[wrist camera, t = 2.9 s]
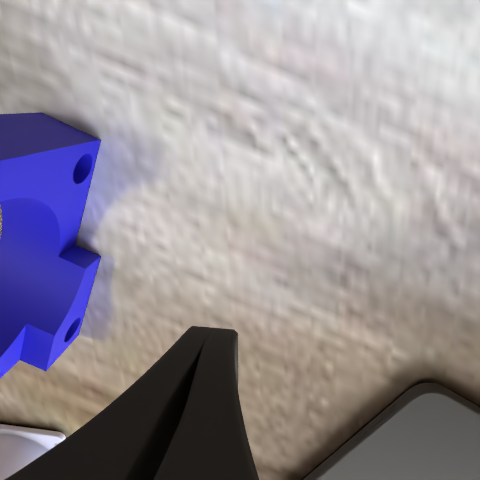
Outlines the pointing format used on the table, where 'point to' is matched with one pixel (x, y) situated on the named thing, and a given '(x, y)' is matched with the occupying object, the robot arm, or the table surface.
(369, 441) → the phone
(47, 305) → the blue cradle bracket
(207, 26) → the table surface
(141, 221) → the table surface
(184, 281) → the table surface
